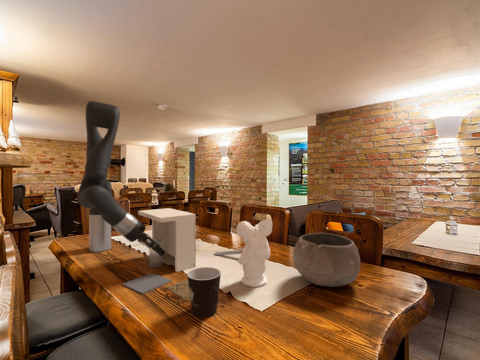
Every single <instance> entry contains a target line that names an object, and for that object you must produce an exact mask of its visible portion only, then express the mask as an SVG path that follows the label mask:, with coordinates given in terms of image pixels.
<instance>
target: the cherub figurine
mask: <svg viewBox="0 0 480 360" xmlns="http://www.w3.org/2000/svg"><path fill="white" fill-rule="evenodd" d="M273 226H274V225H273V220H272V219H271V217H270V216H269V217H267V218H266V219H264V220H261V221H259V222H258V224H257V223H256V224H255V226H253V225H252V224H251V222H249V221H247V220H244V221H243V220H242V221H240V222H238V224H237V226H236V234H237V235H238V236H239V237H240V238H241V240H242V242H243V243H245V245H244V247H243V248H242V249H243V251H242V253H241V254H240V256H239V258H238V260H237V263H239V265H242V270H243V276H242V277H241V280H240V281H241V283H242V284H243V285H244V286H245V287H246V286H247V287H250V288H260V287H262V286H265V285H266V284H267V282H268V278H267V277H266V275H265V271H266V270H267V269H266V268H267V263H266V261H267V260H268V259H270V257H271V250H270V245H269V241H268V239H267V237H268V236H269V235H271V234H272V231H273Z"/></svg>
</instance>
